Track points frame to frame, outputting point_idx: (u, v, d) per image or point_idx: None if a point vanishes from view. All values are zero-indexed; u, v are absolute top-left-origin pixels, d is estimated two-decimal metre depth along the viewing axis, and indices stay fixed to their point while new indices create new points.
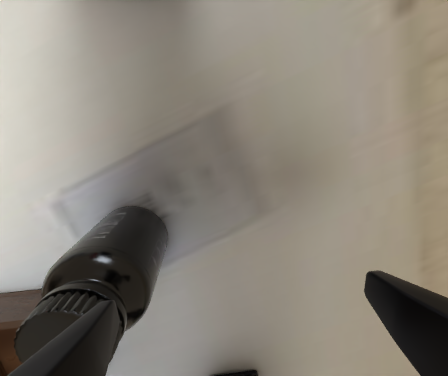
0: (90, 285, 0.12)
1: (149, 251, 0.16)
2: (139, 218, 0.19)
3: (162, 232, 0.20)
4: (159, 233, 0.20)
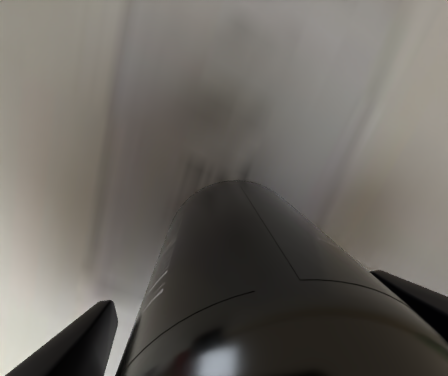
0: None
1: (296, 230, 0.05)
2: (210, 200, 0.08)
3: (269, 192, 0.09)
4: (266, 195, 0.08)
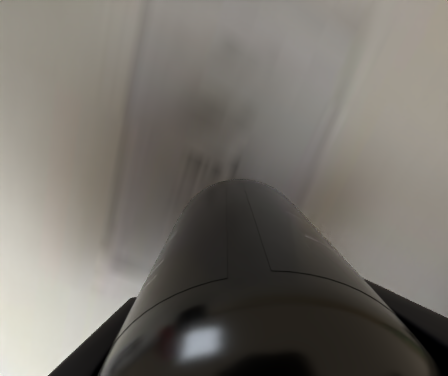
0: None
1: (284, 227, 0.05)
2: (212, 197, 0.08)
3: (271, 191, 0.09)
4: (267, 194, 0.09)
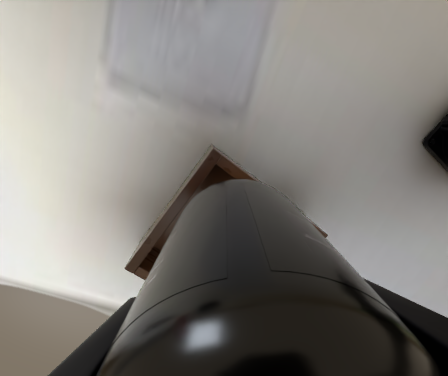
0: None
1: (284, 227, 0.05)
2: (212, 197, 0.08)
3: (271, 191, 0.09)
4: (267, 194, 0.09)
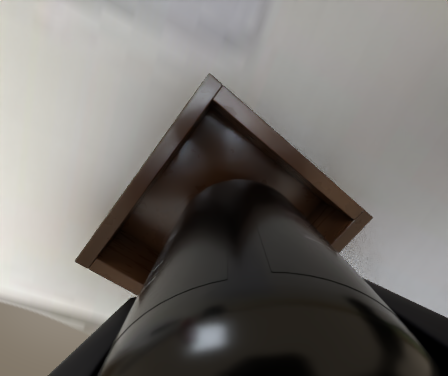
0: None
1: (284, 228, 0.05)
2: (212, 197, 0.08)
3: (271, 191, 0.09)
4: (267, 194, 0.09)
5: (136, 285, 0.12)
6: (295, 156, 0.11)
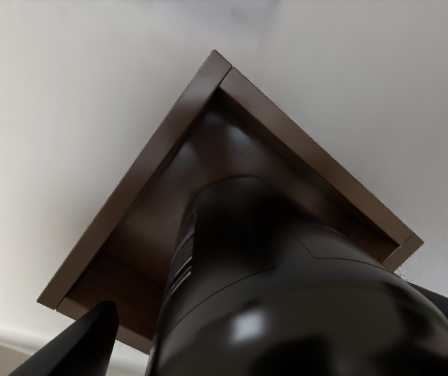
0: None
1: (305, 220, 0.06)
2: (222, 195, 0.09)
3: (276, 188, 0.10)
4: (274, 190, 0.09)
5: (118, 329, 0.09)
6: (328, 164, 0.08)
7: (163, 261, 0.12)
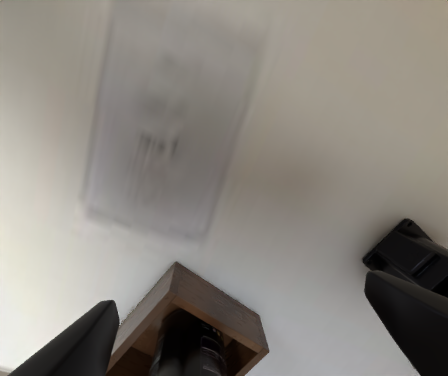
0: None
1: (196, 364, 0.17)
2: (175, 332, 0.20)
3: (202, 323, 0.21)
4: (199, 329, 0.20)
5: None
6: (219, 324, 0.19)
7: (150, 344, 0.23)
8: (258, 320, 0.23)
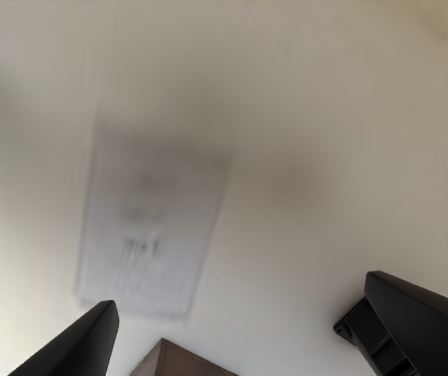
0: None
1: None
2: None
3: None
4: None
5: None
6: None
7: None
8: None
